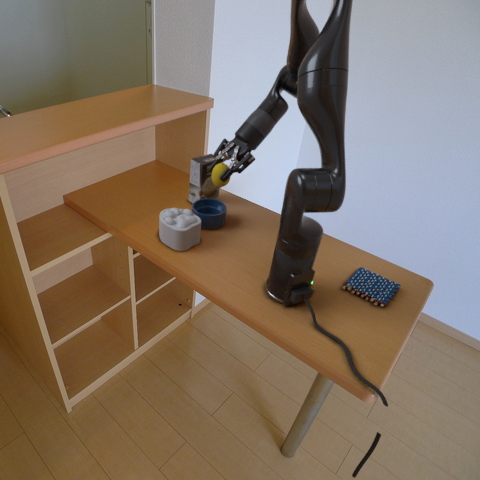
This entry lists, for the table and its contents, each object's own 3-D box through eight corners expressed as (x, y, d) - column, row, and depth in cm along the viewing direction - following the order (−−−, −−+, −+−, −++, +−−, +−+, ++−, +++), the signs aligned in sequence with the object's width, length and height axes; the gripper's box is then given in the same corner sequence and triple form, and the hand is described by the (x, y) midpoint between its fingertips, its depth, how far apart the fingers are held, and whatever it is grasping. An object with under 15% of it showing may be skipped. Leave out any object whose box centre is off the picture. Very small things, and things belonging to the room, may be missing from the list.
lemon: (228, 192, 105) (231, 167, 101) (209, 191, 106) (211, 165, 102) (229, 184, 110) (232, 159, 105) (211, 182, 111) (213, 158, 106)
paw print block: (179, 253, 104) (180, 228, 99) (151, 234, 112) (150, 210, 107) (204, 240, 110) (206, 215, 105) (175, 223, 118) (175, 199, 113)
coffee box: (199, 208, 126) (201, 165, 117) (188, 200, 130) (189, 158, 121) (219, 200, 130) (223, 158, 121) (207, 194, 134) (211, 152, 125)
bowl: (231, 226, 116) (232, 211, 113) (199, 233, 113) (200, 218, 110) (215, 210, 125) (216, 196, 121) (186, 216, 122) (186, 201, 118)
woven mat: (357, 270, 98) (359, 264, 97) (399, 289, 92) (402, 283, 91) (340, 288, 92) (342, 282, 91) (383, 310, 86) (386, 304, 85)
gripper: (234, 114, 105) (196, 160, 108) (265, 129, 94) (222, 179, 97) (246, 129, 110) (210, 173, 113) (277, 145, 99) (236, 192, 102)
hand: (215, 175), depth 105 cm, fingers closed on lemon, 5 cm apart
